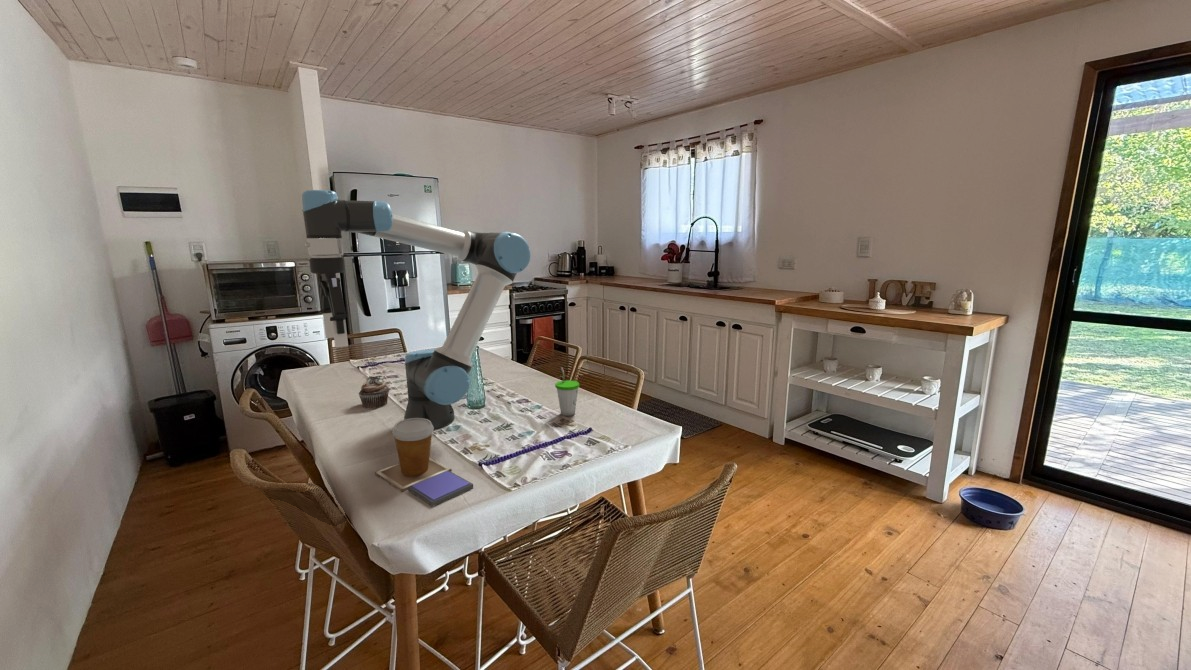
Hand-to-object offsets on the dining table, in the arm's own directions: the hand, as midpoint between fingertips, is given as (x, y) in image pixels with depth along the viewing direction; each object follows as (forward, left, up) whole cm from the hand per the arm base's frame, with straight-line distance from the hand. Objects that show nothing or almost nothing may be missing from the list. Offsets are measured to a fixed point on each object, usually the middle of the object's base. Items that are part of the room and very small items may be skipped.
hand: (336, 342), depth 123 cm
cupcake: (-24, -37, -32) cm, 54 cm away
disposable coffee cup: (-7, +20, -31) cm, 38 cm away
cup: (-61, +21, -32) cm, 72 cm away
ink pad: (-7, +32, -32) cm, 46 cm away
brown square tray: (-7, +20, -32) cm, 38 cm away
